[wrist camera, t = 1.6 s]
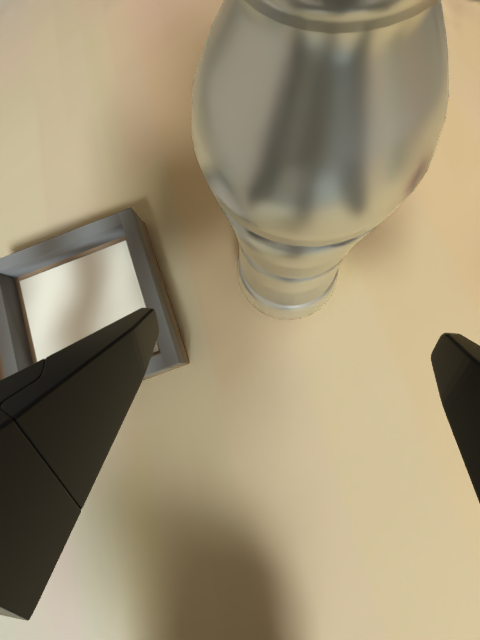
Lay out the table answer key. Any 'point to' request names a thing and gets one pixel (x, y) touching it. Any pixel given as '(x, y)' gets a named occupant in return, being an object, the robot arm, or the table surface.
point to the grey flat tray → (83, 293)
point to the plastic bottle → (315, 131)
